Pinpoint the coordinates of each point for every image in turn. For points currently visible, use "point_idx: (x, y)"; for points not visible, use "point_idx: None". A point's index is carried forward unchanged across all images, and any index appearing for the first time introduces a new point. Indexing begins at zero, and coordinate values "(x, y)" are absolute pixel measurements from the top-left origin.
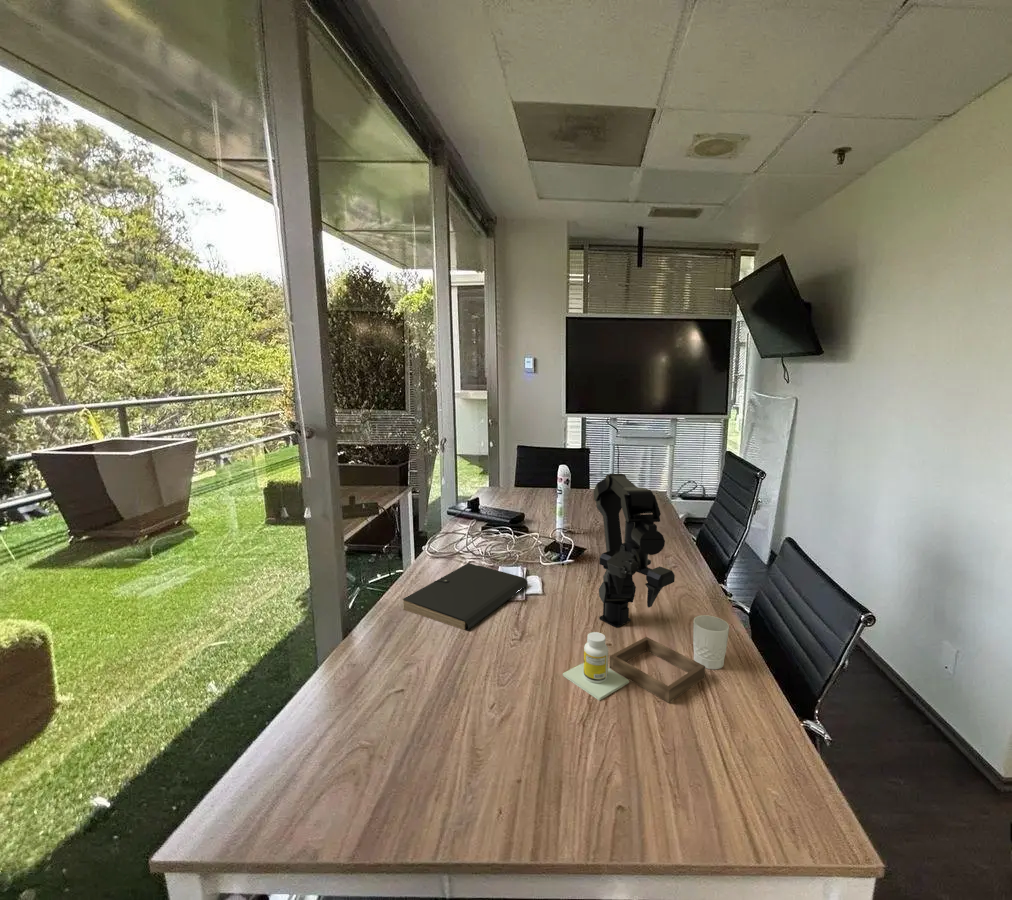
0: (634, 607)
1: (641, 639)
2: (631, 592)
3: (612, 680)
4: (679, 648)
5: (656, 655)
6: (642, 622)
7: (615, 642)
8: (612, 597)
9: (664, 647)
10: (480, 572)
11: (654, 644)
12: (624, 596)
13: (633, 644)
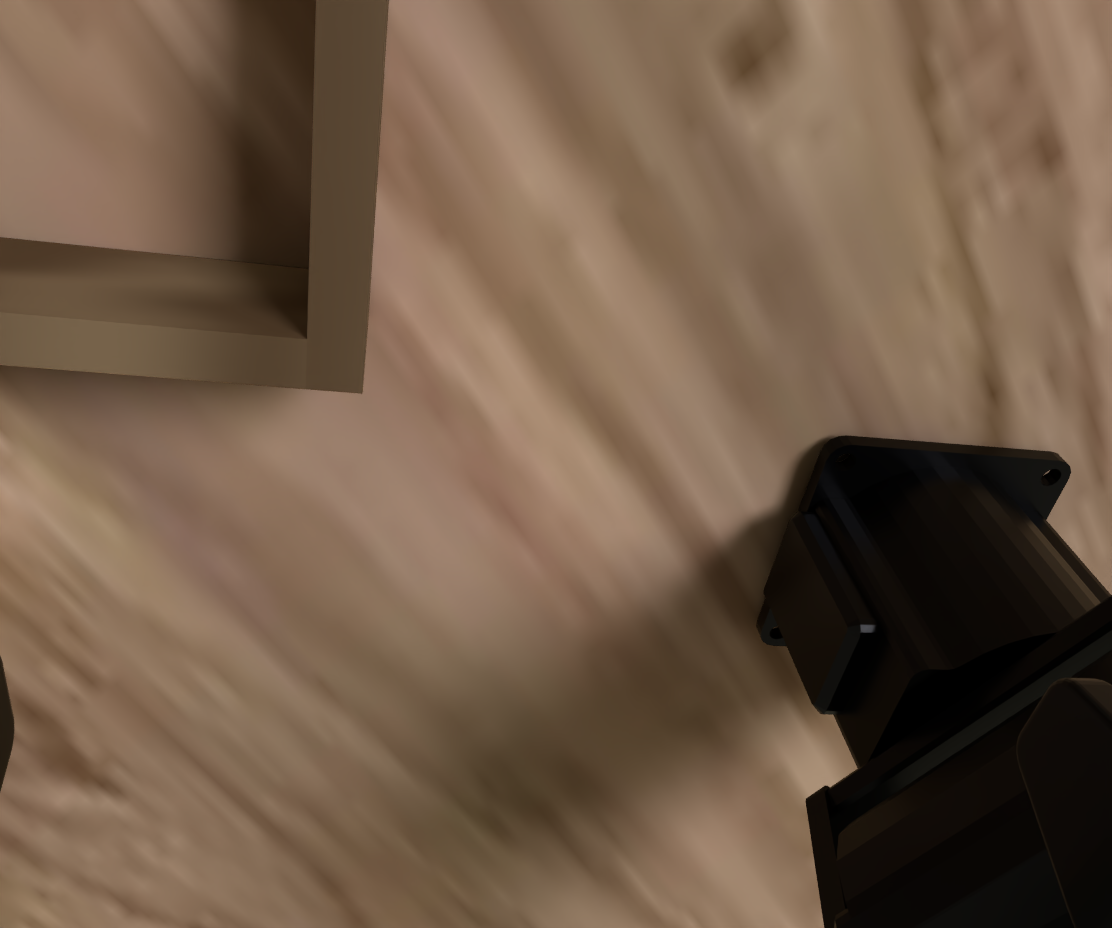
0: None
1: (365, 291)
2: (861, 912)
3: None
4: (115, 552)
5: (163, 256)
6: (654, 674)
7: (707, 162)
8: (1094, 678)
9: (13, 333)
10: None
11: (177, 320)
12: (929, 796)
13: (363, 76)
